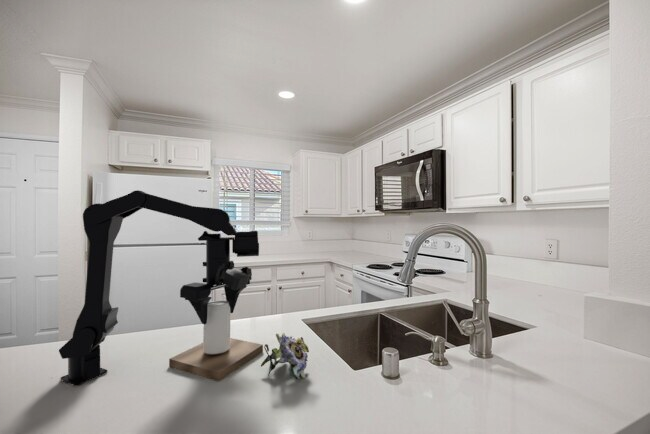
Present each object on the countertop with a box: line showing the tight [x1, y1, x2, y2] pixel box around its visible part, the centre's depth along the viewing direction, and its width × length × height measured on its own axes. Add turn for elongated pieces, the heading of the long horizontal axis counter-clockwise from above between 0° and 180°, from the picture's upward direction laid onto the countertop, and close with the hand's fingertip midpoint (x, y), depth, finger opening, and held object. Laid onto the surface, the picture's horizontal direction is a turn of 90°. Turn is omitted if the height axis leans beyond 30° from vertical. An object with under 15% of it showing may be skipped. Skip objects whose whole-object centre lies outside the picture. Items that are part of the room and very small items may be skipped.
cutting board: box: [168, 337, 264, 382], centre depth 76 cm, size 16×16×2 cm
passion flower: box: [260, 332, 310, 381], centre depth 68 cm, size 11×11×12 cm
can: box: [202, 300, 231, 355], centre depth 76 cm, size 6×6×12 cm
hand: (218, 318), depth 76 cm, fingers open, 9 cm apart
